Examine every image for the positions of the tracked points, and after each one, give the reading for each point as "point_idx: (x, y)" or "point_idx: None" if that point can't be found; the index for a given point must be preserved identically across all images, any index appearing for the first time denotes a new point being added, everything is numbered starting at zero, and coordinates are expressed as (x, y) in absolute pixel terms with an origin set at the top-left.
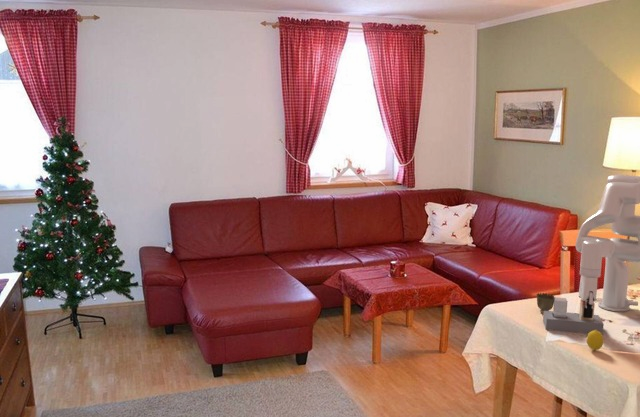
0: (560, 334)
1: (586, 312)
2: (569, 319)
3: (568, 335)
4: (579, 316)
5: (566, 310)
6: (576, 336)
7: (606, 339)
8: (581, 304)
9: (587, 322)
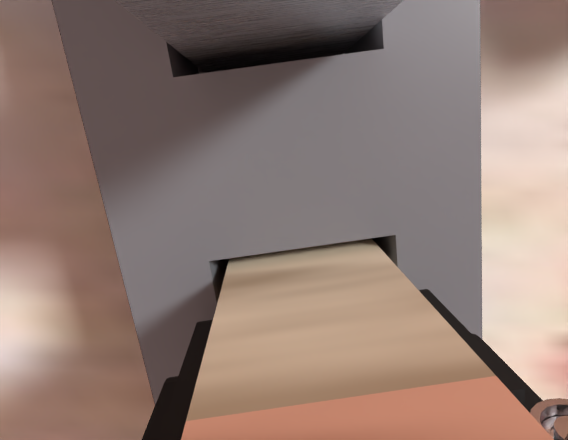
0: (48, 25)
1: (150, 418)
2: (149, 109)
3: (63, 112)
4: (363, 251)
5: (143, 16)
6: (77, 189)
7: (136, 421)
8: (328, 406)
9: (142, 344)
